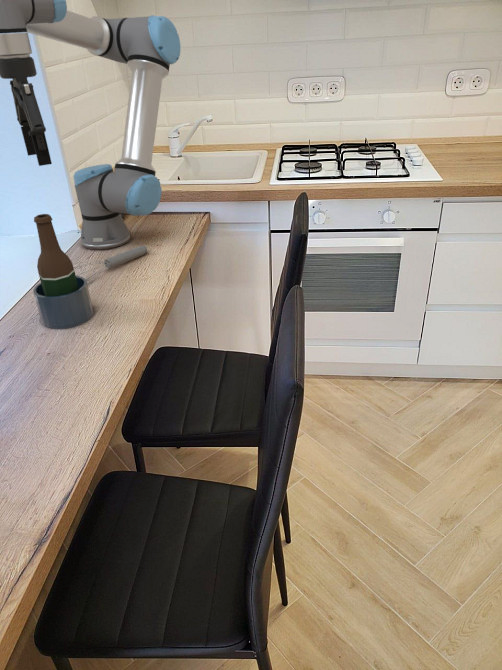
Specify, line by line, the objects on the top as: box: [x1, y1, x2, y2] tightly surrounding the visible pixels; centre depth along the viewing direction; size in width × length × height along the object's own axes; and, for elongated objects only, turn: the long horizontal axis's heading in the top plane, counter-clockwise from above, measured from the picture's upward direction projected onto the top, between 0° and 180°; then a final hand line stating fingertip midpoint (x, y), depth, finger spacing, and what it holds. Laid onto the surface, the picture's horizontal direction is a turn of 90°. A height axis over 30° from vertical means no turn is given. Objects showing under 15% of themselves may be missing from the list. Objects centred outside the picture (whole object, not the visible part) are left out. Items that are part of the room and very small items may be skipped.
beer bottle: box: [33, 213, 79, 297], centre depth 118 cm, size 8×8×24 cm
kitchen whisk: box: [73, 244, 151, 285], centre depth 145 cm, size 6×34×6 cm, turn 146°
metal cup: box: [32, 275, 94, 330], centre depth 123 cm, size 12×12×8 cm
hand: (39, 159), depth 123 cm, fingers open, 13 cm apart
